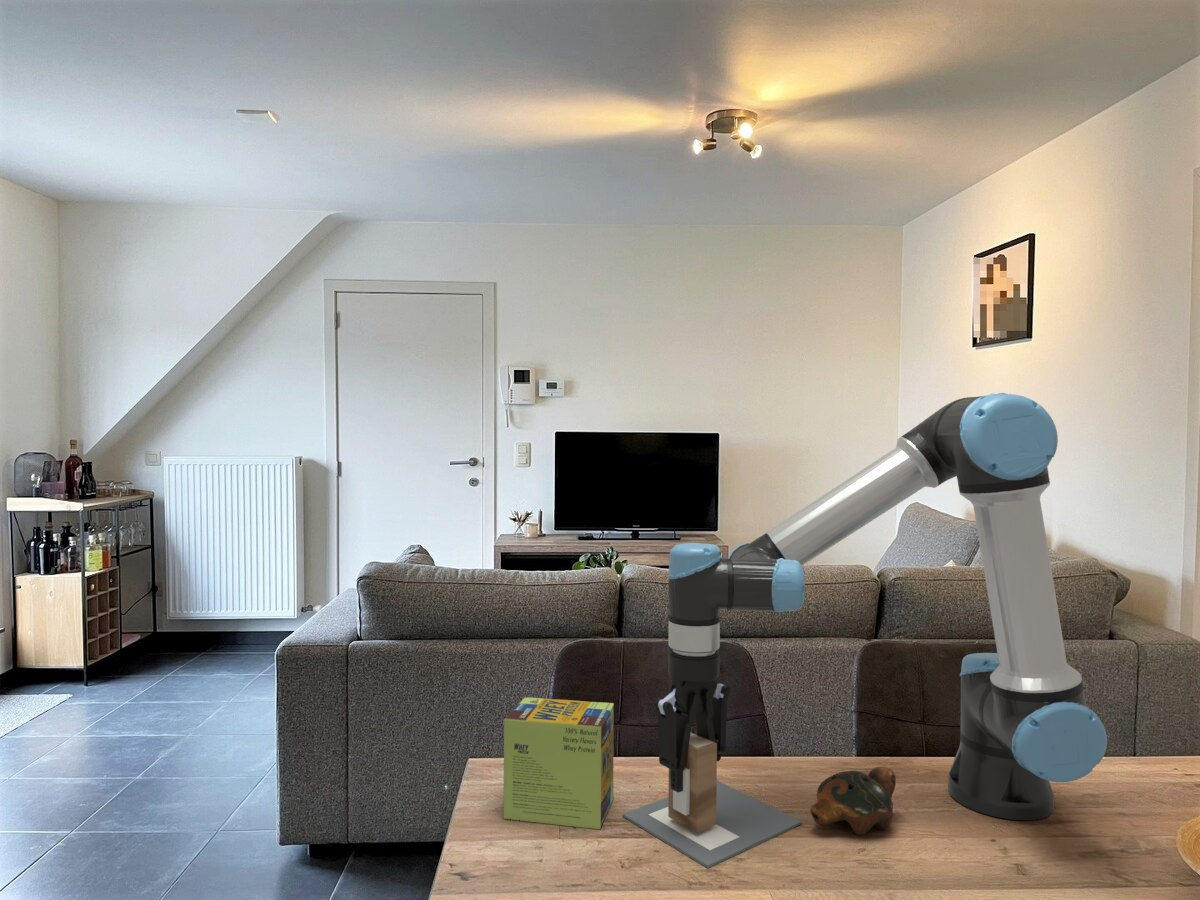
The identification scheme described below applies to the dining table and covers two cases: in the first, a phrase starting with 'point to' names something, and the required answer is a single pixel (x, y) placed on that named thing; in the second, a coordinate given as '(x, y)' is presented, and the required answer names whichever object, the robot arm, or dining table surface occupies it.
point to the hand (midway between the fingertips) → (692, 806)
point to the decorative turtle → (856, 799)
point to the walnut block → (699, 785)
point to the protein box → (559, 762)
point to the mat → (716, 826)
